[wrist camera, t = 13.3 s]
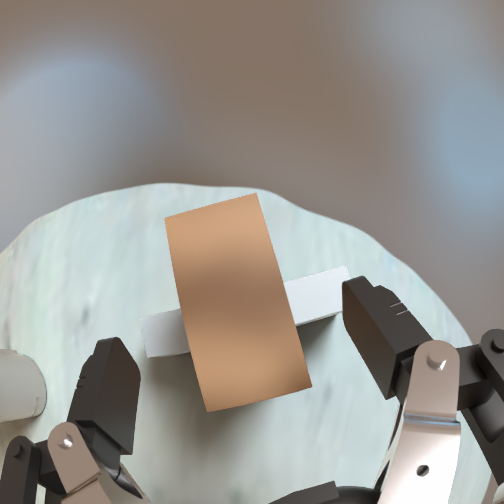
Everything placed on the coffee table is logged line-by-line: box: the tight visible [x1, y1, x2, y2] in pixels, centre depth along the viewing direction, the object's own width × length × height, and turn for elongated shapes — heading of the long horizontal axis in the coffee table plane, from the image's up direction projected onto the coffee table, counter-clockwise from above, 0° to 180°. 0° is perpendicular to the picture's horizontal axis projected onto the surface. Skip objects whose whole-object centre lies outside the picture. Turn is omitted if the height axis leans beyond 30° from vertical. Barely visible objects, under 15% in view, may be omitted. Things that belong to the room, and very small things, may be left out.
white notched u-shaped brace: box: [139, 265, 350, 358], centre depth 27 cm, size 18×4×8 cm, turn 104°
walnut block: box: [165, 193, 312, 412], centre depth 22 cm, size 10×5×18 cm, turn 15°
